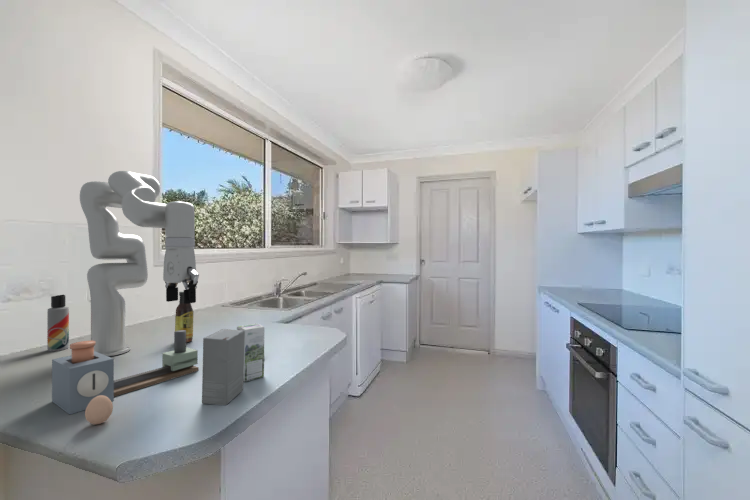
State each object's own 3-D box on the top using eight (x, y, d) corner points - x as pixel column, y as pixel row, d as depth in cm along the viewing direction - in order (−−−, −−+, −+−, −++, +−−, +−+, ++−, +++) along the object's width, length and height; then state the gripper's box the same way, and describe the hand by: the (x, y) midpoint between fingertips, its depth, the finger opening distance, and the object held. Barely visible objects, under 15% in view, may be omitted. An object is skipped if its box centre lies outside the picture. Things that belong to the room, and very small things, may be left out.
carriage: (162, 367, 97) (162, 332, 97) (186, 360, 103) (186, 327, 103) (173, 371, 94) (173, 335, 94) (197, 363, 99) (197, 330, 99)
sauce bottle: (184, 344, 128) (184, 292, 128) (170, 343, 129) (170, 292, 129) (197, 339, 134) (197, 290, 134) (183, 339, 135) (183, 290, 135)
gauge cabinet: (52, 401, 79) (52, 359, 79) (94, 389, 86) (94, 350, 86) (70, 415, 72) (71, 369, 72) (115, 401, 79) (115, 359, 79)
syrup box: (255, 371, 98) (255, 322, 98) (264, 377, 94) (264, 325, 94) (236, 376, 94) (236, 325, 94) (244, 382, 90) (244, 329, 90)
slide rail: (102, 390, 85) (102, 380, 85) (185, 366, 103) (185, 357, 103) (114, 396, 81) (114, 386, 81) (198, 370, 99) (198, 361, 99)
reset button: (66, 364, 78) (66, 343, 78) (91, 358, 82) (91, 339, 82) (73, 367, 76) (73, 346, 76) (98, 362, 80) (98, 342, 80)
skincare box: (220, 390, 85) (220, 328, 85) (246, 391, 84) (246, 328, 85) (199, 405, 77) (199, 336, 77) (228, 406, 76) (228, 337, 76)
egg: (106, 427, 67) (106, 399, 67) (80, 430, 66) (80, 402, 66) (116, 416, 72) (116, 390, 72) (92, 419, 70) (92, 392, 70)
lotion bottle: (58, 351, 119) (58, 295, 119) (42, 351, 119) (42, 295, 119) (73, 347, 124) (73, 293, 124) (58, 347, 124) (58, 293, 125)
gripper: (152, 244, 100) (152, 301, 99) (182, 243, 90) (183, 306, 90) (178, 245, 106) (178, 298, 106) (209, 243, 97) (209, 302, 97)
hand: (180, 302), depth 98 cm, fingers open, 9 cm apart
